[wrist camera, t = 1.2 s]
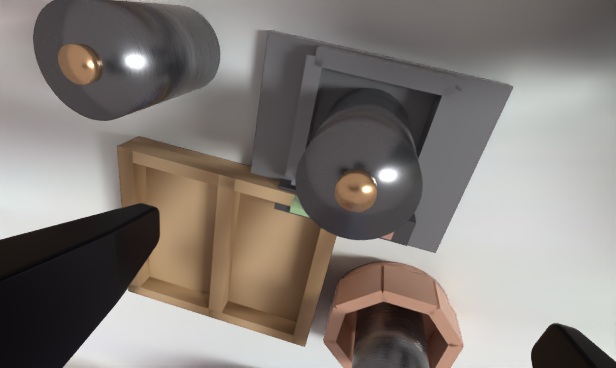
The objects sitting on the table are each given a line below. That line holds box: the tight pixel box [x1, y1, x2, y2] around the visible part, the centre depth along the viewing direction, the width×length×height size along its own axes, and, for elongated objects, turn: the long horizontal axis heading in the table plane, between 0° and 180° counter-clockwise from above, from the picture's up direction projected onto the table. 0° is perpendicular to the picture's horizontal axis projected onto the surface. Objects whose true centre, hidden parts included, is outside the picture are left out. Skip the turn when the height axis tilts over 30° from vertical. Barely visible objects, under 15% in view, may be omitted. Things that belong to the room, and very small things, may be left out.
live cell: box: [295, 88, 423, 240], centre depth 15 cm, size 4×4×8 cm
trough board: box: [117, 136, 337, 347], centre depth 23 cm, size 14×12×2 cm
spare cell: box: [33, 0, 220, 121], centre depth 16 cm, size 4×4×8 cm
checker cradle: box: [251, 31, 513, 253], centre depth 18 cm, size 12×10×2 cm
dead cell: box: [352, 301, 429, 368], centre depth 20 cm, size 4×4×8 cm
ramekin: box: [323, 262, 463, 368], centre depth 23 cm, size 8×8×3 cm
